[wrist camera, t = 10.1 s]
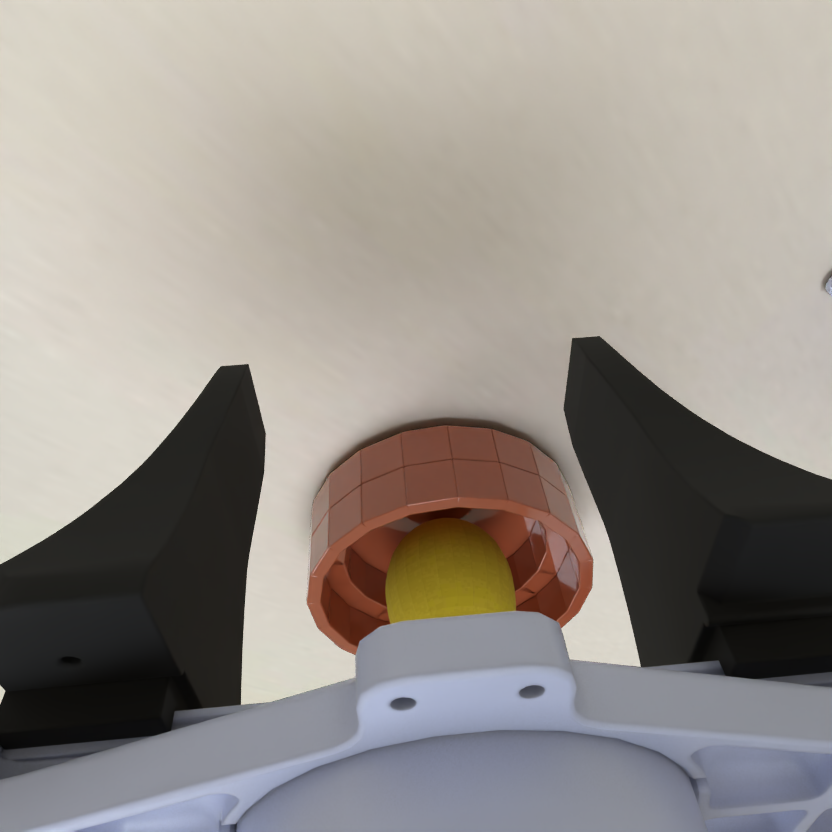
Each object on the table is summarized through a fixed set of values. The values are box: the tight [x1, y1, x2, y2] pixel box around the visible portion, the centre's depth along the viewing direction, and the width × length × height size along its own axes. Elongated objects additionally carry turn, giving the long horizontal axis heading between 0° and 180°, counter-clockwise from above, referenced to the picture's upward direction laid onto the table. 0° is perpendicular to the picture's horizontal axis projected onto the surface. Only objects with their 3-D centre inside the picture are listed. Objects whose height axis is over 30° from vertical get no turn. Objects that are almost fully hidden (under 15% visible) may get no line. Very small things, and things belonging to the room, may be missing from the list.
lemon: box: [385, 518, 516, 624], centre depth 30 cm, size 6×6×8 cm
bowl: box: [307, 425, 593, 655], centre depth 32 cm, size 12×12×5 cm
